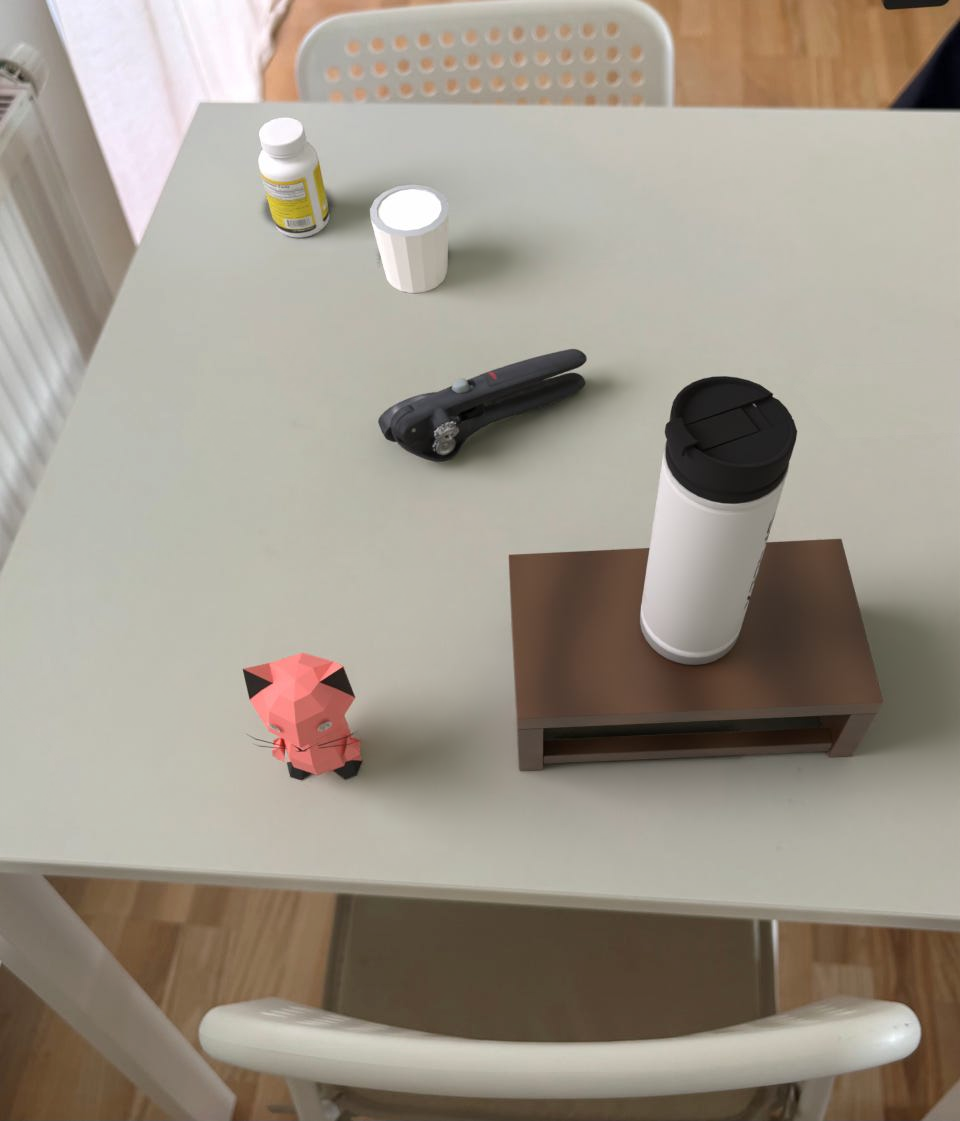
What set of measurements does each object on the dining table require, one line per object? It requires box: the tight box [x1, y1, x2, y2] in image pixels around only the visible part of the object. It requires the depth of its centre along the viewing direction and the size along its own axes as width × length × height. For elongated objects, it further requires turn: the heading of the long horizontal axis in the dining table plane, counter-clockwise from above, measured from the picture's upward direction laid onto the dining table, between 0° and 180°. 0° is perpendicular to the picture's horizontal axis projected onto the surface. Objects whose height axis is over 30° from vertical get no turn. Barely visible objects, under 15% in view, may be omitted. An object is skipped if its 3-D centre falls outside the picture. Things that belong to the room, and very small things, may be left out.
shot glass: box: [369, 184, 450, 294], centre depth 98 cm, size 7×7×7 cm
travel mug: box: [640, 375, 798, 665], centre depth 61 cm, size 6×7×20 cm
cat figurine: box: [242, 652, 363, 781], centre depth 69 cm, size 7×7×12 cm
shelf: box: [508, 538, 884, 772], centre depth 73 cm, size 22×12×8 cm, turn 92°
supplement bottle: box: [258, 117, 330, 238], centre depth 101 cm, size 5×5×10 cm
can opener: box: [377, 348, 588, 463], centre depth 88 cm, size 18×7×6 cm, turn 115°
